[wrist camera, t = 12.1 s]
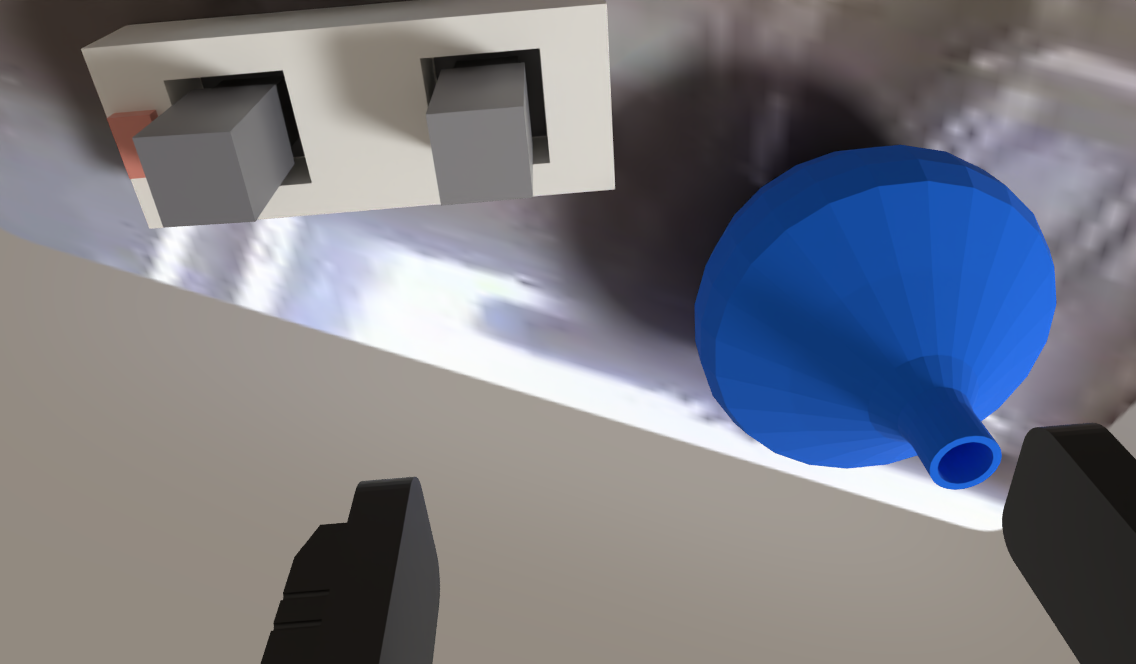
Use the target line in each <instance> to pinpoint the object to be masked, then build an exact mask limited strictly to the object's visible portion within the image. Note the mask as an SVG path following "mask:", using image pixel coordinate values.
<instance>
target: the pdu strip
mask: <svg viewBox="0 0 1136 664" xmlns="http://www.w3.org/2000/svg"><path fill="white" fill-rule="evenodd" d="M81 51H82V54H83V56H84V59H85V61H86V64H87V67H88V69H89V72H90V74H91V77H92V80H93V82H94V85H95V87H96V90H97V93H98V95H99V98H100V100H101V103H102V106H103V108H104V111H105V114H106V116H107V121H108V123H109V126H110V129H111V131H112V134H113V136H114V139H115V142H116V144H117V147H118V149H119V152H120V155H121V157H122V160H123V162H124V165H125V168H126V170H127V173H128V175H129V178H130V179H131V181H132V184H133V187H134V189H135V192H136V194H137V197H138V200H139V202H140V205H141V207H142V210H143V213H144V215H145V218H146V220H147V223H148V226H149V228H150V229H153V228H165V227H163V225H162V222H161V220H160V217H159V214H158V211H157V208H156V205H155V202H154V199H153V197H152V194H151V191H150V188H149V185H148V182H147V179H146V176H145V174H144V171H143V168H142V165H141V162H140V159H139V156H138V154H137V151H136V148H135V145H134V142H133V139H132V138H133V137H134V136H135V135H136V134H137V133H139V132H140V131H141V130H142V129H144V128H145V127H146V126H147V125H149V124H150V123H151V122H152V121H154V120H155V119H156V118H157V117H158V116H160V115H161V114H162V113H163V112H165V111H166V110H167V109H168V108H170V107H171V106H172V105H173V104H175V103H176V102H177V101H178V100H180V99H181V98H182V97H183V96H184V95H186V94H187V93H188V92H189V91H191V90H192V89H204V88H214V87H215V86H216V85H218V84H219V83H220V82H221V81H222V80H232V79H248V78H264V77H280V76H284V77H285V81H286V84H287V88H288V92H289V96H290V100H291V104H292V108H293V112H294V117H295V121H296V125H297V129H298V134H299V138H298V139H297V140H296V142H295V143H294V145H293V146H292V147H291V150H292V154H293V158H294V162H295V164H294V165H293V167H292V168H291V170H290V171H289V173H288V174H287V176H286V177H285V179H284V180H283V182H282V183H281V185H280V186H279V188H278V189H277V190H276V192H275V193H274V195H273V196H272V198H271V199H270V201H269V202H268V204H267V205H266V207H265V208H264V210H263V211H262V213H261V214H260V216H259V217H258V219H257V220H259V219H271V218H283V217H295V216H306V215H318V214H330V213H342V212H354V211H365V210H377V209H389V208H401V207H413V206H425V205H436V204H441V202H440V196H439V191H438V185H437V179H436V173H435V167H434V161H433V155H432V149H431V143H430V138H429V132H428V126H427V120H426V112H427V109H428V106H429V103H430V101H431V98H432V95H433V92H434V89H435V86H436V83H437V80H438V78H439V75H440V72H441V69H452V68H454V65H455V62H456V61H465V60H477V59H489V58H500V57H512V56H518V62H519V63H522V62H525V72H526V82H527V92H528V102H529V112H530V122H531V132H532V142H533V196H543V195H555V194H566V193H578V192H590V191H602V190H614V189H615V175H614V153H613V131H612V109H611V87H610V65H609V43H608V21H607V3H606V1H605V0H412V1H401V2H389V3H377V4H366V5H354V6H342V7H331V8H319V9H308V10H296V11H284V12H273V13H261V14H250V15H238V16H226V17H215V18H203V19H192V20H180V21H168V22H157V23H145V24H134V25H126V26H124V27H122V28H120V29H118V30H116V31H114V32H112V33H110V34H109V35H107V36H105V37H103V38H101V39H99V40H97V41H95V42H93V43H91V44H89V45H87V46H85V47H83V48H81Z"/></svg>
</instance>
